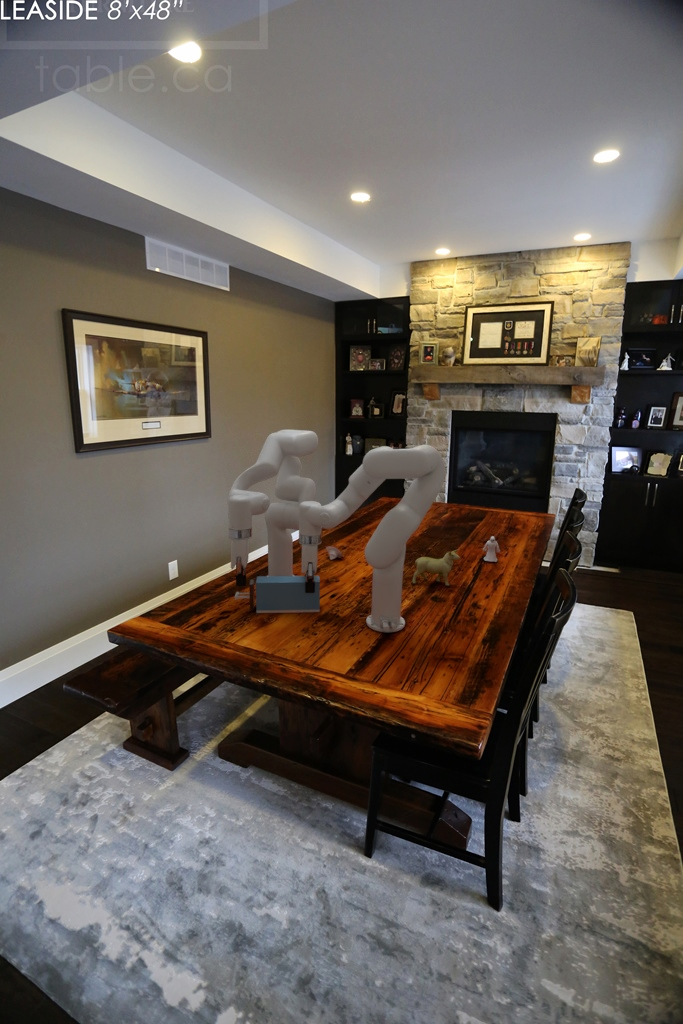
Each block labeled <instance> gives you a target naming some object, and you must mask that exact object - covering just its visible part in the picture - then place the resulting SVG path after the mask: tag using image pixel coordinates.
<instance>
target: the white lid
mask: <svg viewBox="0 0 683 1024" xmlns="http://www.w3.org/2000/svg"><path fill="white" fill-rule="evenodd" d="M325 551H326V552H327V553H328V556H329V560H331V561H333V560H335V559H336V558H343V553H342V551H341V550H340V549H338V548H337V547H335V546H329V545H328V546H326V547H325Z"/></svg>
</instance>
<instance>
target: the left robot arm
mask: <svg viewBox="0 0 683 1024" xmlns="http://www.w3.org/2000/svg"><path fill="white" fill-rule="evenodd" d="M318 446H319V437H318V434H317V433H316V432H314V430H313V431H312V430H302V429H301V430H300V429H280V430H278V431H276V432H272V433H270V434H269V435H268V436H267V437H266V439H265V441H264V444H263V445H262V448H261V451H260V453H259V455H258V457H257V459H256V461H255V463H254V464H253V465H252V466H249V467H248V468H247V469H246V470H244V471H243V472H242V473H241V474H239V475H238V476H237V477H236V478H235V480H234V481H233V483H232V486H231V488H230V490H229V492H228V495H227V499H226V500H227V501H226V502H227V521H228V522H227V523H228V527H227V528H228V539H230V540H231V541H230V569H231V570H233V569H235V586H236V587H246V586H247V569H246V568H247V565H248V563H249V556H250V555H249V552H250V550H249V549H250V548H249V547H250V545H249V544H250V543H249V540H250V539H252V537H253V528H252V527H253V519H252V517H253V516H258V515H263V514H264V521H265V526H266V533H267V567H268V568H267V569H268V571H267V573H268V574H267V576H296V575H295V574H294V566H293V565H294V559H293V558H294V557H293V555H294V554H293V553H294V552H293V549H294V548H293V547H294V546H293V544H294V543H293V542H294V541H293V539H294V538H293V536H292V532H291V530H294V531H299V505H300V503H302V502H305V501H315V500H316V496H317V495H316V494H317V486H316V483H315V481H314V480H313V479H312V478H309V477H302V470H303V464H302V462H301V460H300V458H301V457H305V456H309V455H311V454H313V453H314V452H316V450H317V449H318ZM276 476H277V478H276V483H275V487H274V496H275V498H277V499H278V500H281V501H287V502H281V501H279V502H277V501H276V502H270V498H269V496H268V495H267V494H266V493H264V492H260V491H252V490H249V489H250V488H251V487H253V485H256V484H259V483H261V482H265V481H267V480H270V479H272V478H275V477H276ZM289 502H295V503H289ZM296 503H298V504H296Z"/></svg>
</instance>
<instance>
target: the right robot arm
mask: <svg viewBox="0 0 683 1024" xmlns="http://www.w3.org/2000/svg"><path fill="white" fill-rule="evenodd" d="M445 478H446V465H445V461H444V459H443V456H442V455H441V453H440V452H439V450H438V449H436V448H435V447H434V446H432V445H430V444H420V445H416V446H414V447H412V448H393V447H391V446H387V445H382V446H378V447H375V448H373V449H371V450H369V451H368V452H366V453H365V455H364V456H363V459H362V463H361V464H360V466H359V467H357V469H355V470H354V472H353V473H352V474H351V475H350V476H349V478H348V485H347V486H346V488H344V490H343V491H342V492H341V493H340V494H339V495H338V496H337V498H336V499H334V500H333V501H331V502H330V503H327V504H325V505H322V504H321V503H320V502H318V501H305V502H302V503H300V505H299V530H298V544H299V545H300V546H301V574H304V576H306V581H305V593H315V581H314V576H316V575H315V574H317V569H318V551H319V550H318V549H319V548H318V547H319V545H321V544H322V529H325V530H331V529H334V528H336V527H337V526H339V525H341V524H342V523H343V522H345V521H347V520H348V519H349V518H350V517H351V516H352V515H353V514H354V513H355V512H356V511H357V510H358V509H359V508H360V507H361V506H362V505H363V504H364V503H365V501H366V500H367V499H368V498H369V497H370V496H371V495H373V493H374V492H375V491H376V490H377V489H378V488H379V487H380V486H381V485H382V484H383V483H384V482H385V481H386V480H406V479H409V480H412V479H413V481H412V482H411V483H410V485H409V486H408V488H407V490H406V491H405V493H404V495H403V497H402V498H400V499H401V500H400V501H399V502H398V503H397V504H396V505H395V506H394V507H393V508H391V509H390V510H389V511H387V513H385V515H384V516H383V517H382V519H381V520H380V522H379V524H378V525H377V527H376V529H375V530H374V531H373V533H372V535H371V537H370V538H369V540H368V542H367V544H366V545H365V548H364V558H365V560H366V563H367V564H368V566H370V567H372V585H371V586H372V587H371V607H370V609H371V613H370V615H368V616H367V617H366V621H365V622H366V623H365V624H366V625H367V627H368V628H369V629H372V630H373V631H376V632H379V633H396V632H398V631H402V630H403V629H404V628H405V626H406V620H405V618H403V617H402V615H401V614H402V599H403V598H402V597H403V580H404V567H405V559H406V552H407V542H408V541H409V540H410V538H411V537H412V535H414V533H415V532H416V531H417V530H418V529H419V527H420V526H421V523H422V521H423V520H424V518H425V517H426V515H427V513H428V512H429V510H430V509H431V507H432V505H433V504H434V502H435V500H436V498H437V497H438V495H439V493H440V492H441V490H442V488H443V486H444V482H445Z"/></svg>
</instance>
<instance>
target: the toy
mask: <svg viewBox="0 0 683 1024" xmlns="http://www.w3.org/2000/svg"><path fill="white" fill-rule="evenodd" d="M457 552H459V549H455V550H452V551H447V552H446V553H445V554H444V556H443V557H442V558H433V557H428V556H421V557H418V558H417V559H416V560H415V567H416V571H414V572H413V577H412V582H411V583H412V584H413V585H417V581H416V580H417V578H418V576H419V575H420V576H421V577H422V578H423V580H424V581H427V580H428V577H427V575H426V574H425V573H428V574H431V575H437V577H436V580H435V581H436V582H437V583H441V580H440V579H441V577H442V578H443V580H444V584H445V587H448V588H449V587H451V585H450V583H449V582H448V575H449V574H450V572H451V571H452V568H453V566H454V561H460V560H461V556H459V555H458V554H457Z"/></svg>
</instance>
